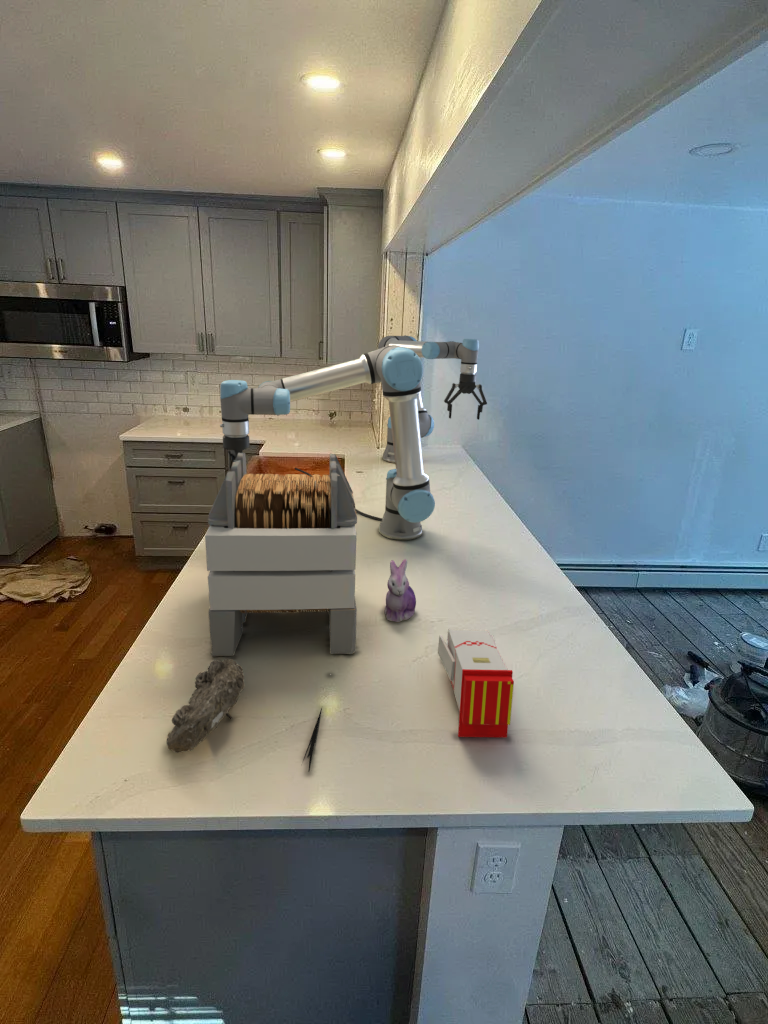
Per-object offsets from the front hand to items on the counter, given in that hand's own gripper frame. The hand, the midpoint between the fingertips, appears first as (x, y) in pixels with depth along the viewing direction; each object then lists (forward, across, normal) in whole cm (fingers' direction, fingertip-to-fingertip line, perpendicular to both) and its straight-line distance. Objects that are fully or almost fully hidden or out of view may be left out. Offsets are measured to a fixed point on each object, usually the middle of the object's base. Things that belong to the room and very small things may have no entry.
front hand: (239, 509), depth 173 cm
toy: (+15, +85, +29) cm, 91 cm away
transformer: (+15, +42, +2) cm, 45 cm away
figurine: (+15, +51, +30) cm, 61 cm away
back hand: (-11, -63, +121) cm, 137 cm away
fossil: (+15, +72, -21) cm, 77 cm away
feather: (+15, +81, -3) cm, 82 cm away
